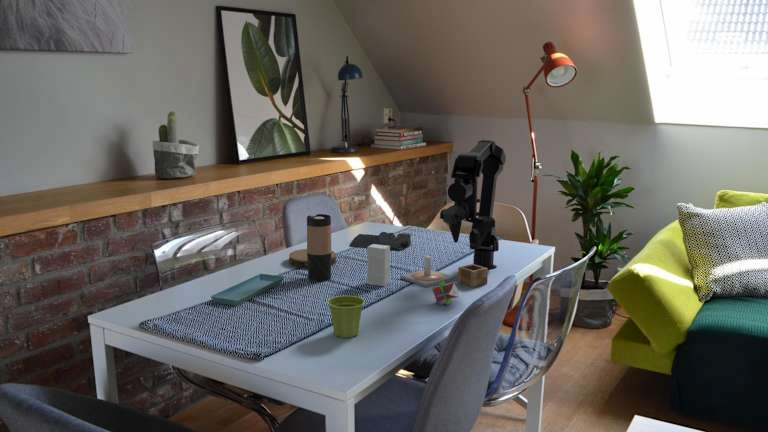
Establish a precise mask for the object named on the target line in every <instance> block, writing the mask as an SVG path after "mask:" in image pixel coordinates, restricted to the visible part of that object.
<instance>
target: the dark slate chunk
mask: <svg viewBox="0 0 768 432" xmlns="http://www.w3.org/2000/svg"><path fill="white" fill-rule="evenodd" d="M372 244H377V245H386V246H390V251H393V252H400V251H405V250H406V249H407V248H409V247H410V246H411V244H412V241H411V234H410V233H398V234H397V236H396V235H395V233H394V232H386V231H382V232H380V233H379V234H377V235H376V234H368V233H367V234H364V233H359V234H357V235H356V236H355V237H354V238H353V239H352V241H351V243H350V244H349V245H350V246H349V247H350V248H361V249H367V247H368V246H370V245H372Z"/></svg>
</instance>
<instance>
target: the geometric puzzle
mask: <svg viewBox="0 0 768 432" xmlns="http://www.w3.org/2000/svg"><path fill="white" fill-rule="evenodd" d="M432 293H433V295H434V299H435V301H436V303H442V305H445V306H448V305H450V303H452V302H454V300H456V299H457V298H459V289H458V287H457V286H456V284H455V283H454V282H451V283H448V282H444V279H443V280H442V282H440V283H439V284H437V285H436V286H435V287H432Z"/></svg>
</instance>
